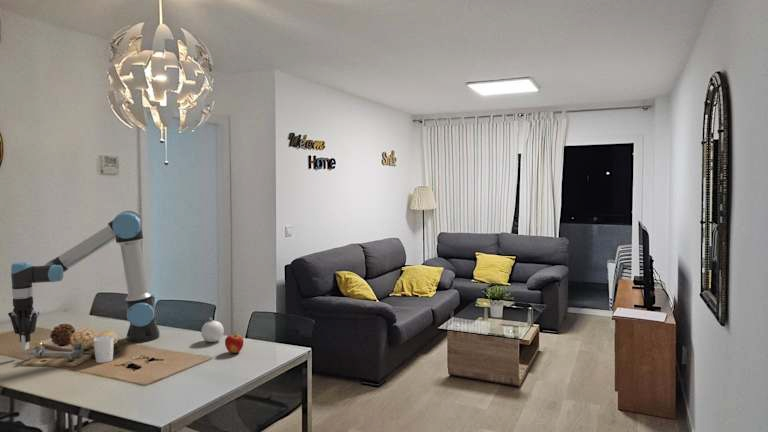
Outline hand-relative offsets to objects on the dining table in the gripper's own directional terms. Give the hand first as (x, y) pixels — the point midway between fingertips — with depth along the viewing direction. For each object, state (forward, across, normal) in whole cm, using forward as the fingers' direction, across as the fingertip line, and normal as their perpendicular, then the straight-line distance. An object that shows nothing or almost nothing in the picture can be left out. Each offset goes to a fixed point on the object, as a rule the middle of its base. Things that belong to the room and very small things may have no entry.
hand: (25, 348), depth 241 cm
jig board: (+4, -17, +3) cm, 17 cm away
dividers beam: (+3, -16, +2) cm, 16 cm away
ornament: (+5, -74, -28) cm, 80 cm away
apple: (+5, -91, -12) cm, 92 cm away
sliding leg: (+3, -6, +2) cm, 7 cm away
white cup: (+5, -37, +1) cm, 37 cm away
